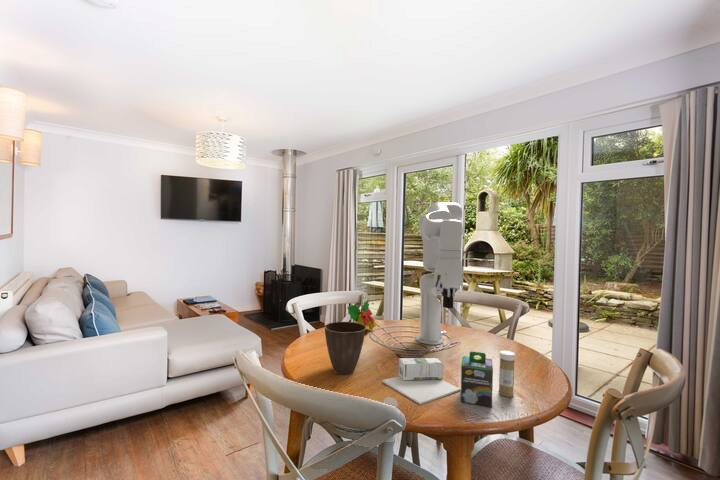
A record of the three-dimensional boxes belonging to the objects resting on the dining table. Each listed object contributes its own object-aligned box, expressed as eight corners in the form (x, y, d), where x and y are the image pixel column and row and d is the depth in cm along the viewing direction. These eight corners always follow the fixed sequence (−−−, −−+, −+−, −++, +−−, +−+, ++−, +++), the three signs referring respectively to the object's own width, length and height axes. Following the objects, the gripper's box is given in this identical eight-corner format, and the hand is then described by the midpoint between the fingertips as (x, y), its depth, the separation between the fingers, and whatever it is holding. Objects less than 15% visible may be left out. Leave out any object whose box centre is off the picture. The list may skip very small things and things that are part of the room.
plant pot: (315, 367, 127) (316, 324, 127) (348, 360, 137) (349, 319, 136) (338, 382, 116) (339, 334, 115) (372, 372, 125) (374, 328, 124)
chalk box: (491, 395, 110) (493, 348, 110) (492, 408, 102) (494, 358, 101) (461, 389, 113) (462, 344, 113) (459, 402, 105) (461, 353, 104)
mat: (421, 371, 127) (421, 370, 127) (460, 390, 112) (460, 389, 112) (382, 382, 117) (382, 380, 117) (420, 404, 102) (420, 402, 102)
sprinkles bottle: (514, 393, 112) (516, 351, 112) (512, 398, 108) (513, 355, 108) (499, 389, 114) (501, 349, 114) (496, 394, 111) (498, 352, 110)
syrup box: (437, 373, 125) (398, 374, 123) (437, 356, 125) (398, 358, 123) (443, 379, 119) (402, 381, 117) (443, 362, 119) (402, 363, 117)
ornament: (360, 338, 165) (361, 307, 165) (346, 335, 170) (347, 304, 169) (380, 328, 183) (381, 300, 183) (366, 326, 187) (367, 298, 187)
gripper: (455, 254, 128) (453, 303, 129) (426, 254, 120) (424, 307, 120) (472, 255, 122) (470, 307, 123) (443, 256, 114) (441, 312, 114)
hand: (447, 307), depth 121 cm, fingers closed
